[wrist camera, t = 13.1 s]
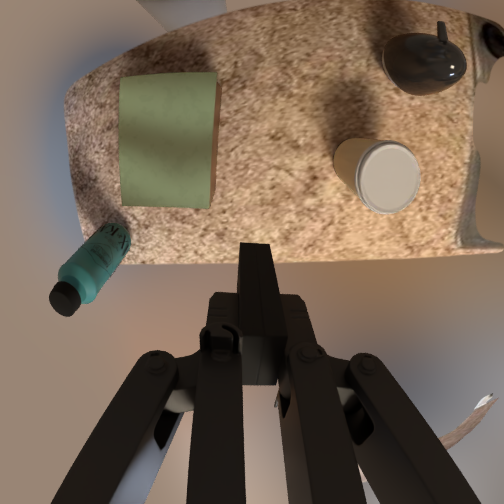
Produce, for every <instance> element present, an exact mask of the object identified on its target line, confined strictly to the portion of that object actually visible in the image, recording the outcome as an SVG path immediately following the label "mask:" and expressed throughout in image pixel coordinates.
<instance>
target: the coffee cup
mask: <svg viewBox="0 0 504 504" xmlns="http://www.w3.org/2000/svg"><path fill="white" fill-rule="evenodd" d="M333 164H334V169H335V172H336V174H337V175H338V177H339V178H340V179H341V180H342V181H343V182H344V183H345V184H346V185H347V186H348V187H349V188H350V190H351V191H352V192H353V193H354V194H355V195H356V196H357V197H358V198H359V199H360V200H361V201H362V203H363V204H364V205H365V206H366V207H367V208H369V209H370V210H372V211H374V212H376V213H379V214H392V213H397V212H399V211H401V210H403V209H405V208H406V207H407V206H408V205H409V204H410V203H411V202H412V201H413V199H414V198H415V196H416V194H417V192H418V189H419V185H420V168H419V165H418V162H417V160H416V158H415V156H414V155H413V153H412V152H411V151H410V150H409V149H408V148H407V147H406V146H405V145H403V144H401V143H399V142H396V141H391V140H376V139H366V138H351V139H348V140H346V141H344V142H342V143H341V144H340V145H339V147H338V148H337V150H336V152H335V154H334V160H333Z"/></svg>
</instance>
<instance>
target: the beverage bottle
mask: <svg viewBox="0 0 504 504" xmlns="http://www.w3.org/2000/svg"><path fill="white" fill-rule="evenodd" d="M130 245H131V238H130V235H129V233H128V231H127V230H126V229H125V228H124V227H123V226H122V225H120V224H118V223H107V224H104V226H102V227H100V228H99V229H98V230H97V231H96V232H95V233H94V234H93V235H92V236H90V237H89V239H88V240H87V241H86V242H85V243H84V244H83V245H82V246H81V247H80V248H79V249H78V250H77V251H76V252H75V254H73V255H72V257H71V258H70V259H69V260H68V261H67V262H66V263H65V264H63V265H62V266H61V268H60V269H59V272H58V281H59V282H57V284H56V285H55V286H54V288H53V289H52V291H51V293H50V295H49V301H50V304H51V305H52V307H53V308H54V309H55V311H56V312H58V313H59V314H61V315H63V316H66V317H69V316H72V315H73V314H74V313H75V311H76V310H77V309H78V308H79V307H80V305H81V304H88V303H91V302H92V301H93V300H94V299H95V298H96V296H97V294H98V292H99V291H100V289H101V288H102V287H103V285H104V284H105V282H106V281H107V280H108V279H109V277H110V276H111V274H112V273H113V271H114V270H115V269H116V267H117V266H118V265H119V263H120V262H121V260H122V259H123V258H124V256H125V255H126V254H127V252H128V251H130V250H129V249H130V248H131V247H130ZM125 257H126V256H125Z"/></svg>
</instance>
